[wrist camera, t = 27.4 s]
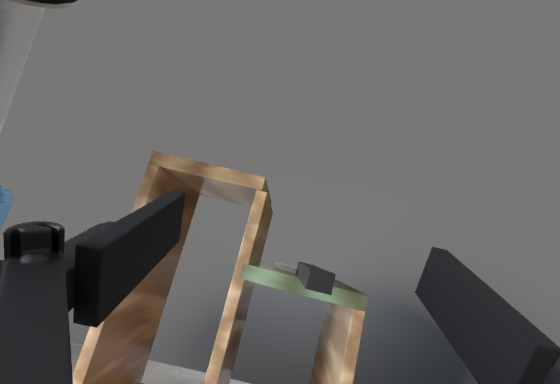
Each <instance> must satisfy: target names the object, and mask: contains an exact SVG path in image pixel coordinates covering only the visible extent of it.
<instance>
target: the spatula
mask: <svg viewBox="0 0 560 384" xmlns="http://www.w3.org/2000/svg"><path fill="white" fill-rule="evenodd" d="M274 268H275V269H279V270H283V271H287V272H291V273H295V274H296V275H297V276H298V278H299V279H300V281H301V283H302V284H303V286H304V287H305V289H308V290H312V291H316V292H320V293H324V294H328V295H332V290H333V285H334V280H335V274H334V273H331V272H328V271H326V270H324V269H321V268H318V267H316V266H314V265H310V264H306V263H302V262H299V263H298V266H294V265H289V264H286V263H282V262H278V261H277V262H276V263H275V265H274Z"/></svg>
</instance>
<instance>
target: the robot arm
mask: <svg viewBox="0 0 560 384" xmlns="http://www.w3.org/2000/svg"><path fill="white" fill-rule="evenodd" d="M79 1H80V0H0V133H1V130H2V127H3V125H4V122H5V119H6V116H7V113H8V110H9V107H10V105H11V101H12V99H13V96H14V93H15V90H16V87H17V85H18V82H19V79H20V76H21V73H22V70H23V68H24V65H25V62H26V59H27V56H28V54H29V51H30V48H31V45H32V42H33V39H34V37H35V34H36V30H37V28H38V25H39V22H40V19H41V17H42V14H43V11H44V9H58V8H66V7H71V6H73V5H75V4H77V3H78V2H79ZM12 201H13V195H12V193H11V191H9V190H8V189H5V188H2V187H1V186H0V229H1V227H2V225H3V223H4V221H5V219H6V217H7V215H8V212H9V209H10V207H11V204H12ZM184 201H185V193H182V192H177V191H172V190H171V191H169V192H167V193H165V194H164V195H162V196H160V197H158V198H157V199H155V200H153V201H151V202H150V203H148V204H146V205H144V206H143V207H141V208H139V209H137V210H136V211H134V212H132V213H130V214H129V215H127V216H125V217H123V218H122V219H120V220H118V221H116V222H106V223H103V224H98V225H96V226H94V227H92V228H90V229H88V230H87V231H84V232H83V233H81V234H79V235H78V236H75V237H73V238H71V239H69V240H68V241H66V242H64V233H65V231H64V228H63V226H62V225H60V224H57V223H53V222H39V221H36V222H27V223H22V224H18V225H14V226H12V227H10V228H8V229H6V231H5V232H4V233H3V235H4V258H5V260H4V261H3V260H0V384H73V376H72V362H71V347H70V332H69V318H68V312H69V311H70V310H71V309H72V308H73V307H74V320H73V322H74V323H77V324H81V325H86V326H91V327H95V328H97V327H98V326H99V325H100V324H101V323H102V322H103V321H104V320H105V319H106V318H107V317H108V316H109V315H110V314H111V313H112V312H113V310H114V309H115V308H116V307H117V306H118V305H119V304H120V303H121V302H122V301H123V300H124V299H125V298H126V297H127V296H128V295H129V294H130V293H131V292H132V290H133V289H134V288H135V287H136V286H137V285H138V284H139V283H140V282H141V281H142V280H143V279H144V278H145V277H146V276H147V275H148V274H149V273H150V272H151V271H152V269H153V268H154V267H155V266H156V265H157V264H158V263H159V262H160V261H161V260H162V259H163V258H164V257H165V256H166V255H167V254H168V253H169V252H170V251H171V249H172V248H173V247H174V246H175V245H176V244H177V243H178V242H179V240H180V232H181V224H182V217H183V209H184ZM415 293H416V294H417V296H418V297H419V299H420V300H421V301H422V303H423V304H424V306H425V307H426V309H427V310H428V312H429V313H430V315H431V316H432V318H433V319H434V320H435V322H436V323H437V325H438V326H439V328H440V329H441V330H442V332H443V333H444V335H445V336H446V338H447V339H448V341H449V342H450V343H451V345H452V346H453V348H454V349H455V351H456V352H457V354H458V355H459V357H460V358H461V359H462V361H463V362H464V364H465V365H466V367H467V368H468V370H469V371H470V372H471V374H472V375H473V377H474V378H475V380H476V381H477V382H478V384H560V347H558V346H557V345H556V344H555V343H554V342H552V341H551V340H550V339H549V338H548V337H547V336H546V335H544V334H543V333H542V332H541V331H540V330H539V329H538V328H536V327H535V326H534V325H533V324H532V323H531V322H529V321H528V320H527V319H526V318H525V317H524V316H522V315H521V314H520V313H519V312H518V311H517V310H515V309H514V308H513V307H512V306H511V305H510V304H509V303H507V302H506V301H505V300H504V299H503V298H502V297H501V296H499V295H498V294H497V293H496V292H495V291H494V290H492V289H491V288H490V287H489V286H488V285H487V284H485V283H484V282H483V281H482V280H481V279H480V278H479V277H477V276H476V275H475V274H474V273H473V272H472V271H470V270H469V269H468V268H467V267H466V266H465V265H463V264H462V263H461V262H460V261H459V260H457V258H455V257H454V256H453V255H452V254H451V253H450V252H448V251H447V250H444V249H440V248H435V247H432V249H431V252H430V255H429V257H428V260H427V262H426V265H425V267H424V270H423V273H422V275H421V278H420V281H419V283H418V286H417V289H416V291H415Z"/></svg>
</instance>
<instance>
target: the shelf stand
mask: <svg viewBox="0 0 560 384" xmlns="http://www.w3.org/2000/svg"><path fill="white" fill-rule="evenodd" d="M171 190H172V191H177V192H182V193H185V201H184V209H183V217H182V224H181V232H180V240H179V242H178V243H177V244H176V245H175V246H174V247H173V248H172V249H171V251H170V252H169V253H168V254H167V255H166V256H165V257H164V258H163V259H162V260H161V261H160V262H159V263H158V264H157V265H156V266H155V267H154V268H153V269H152V271H151V272H150V273H149V274H148V275H147V276H146V277H145V278H144V279H143V280H142V281H141V282H140V283H139V284H138V285H137V286H136V287H135V288H134V289H133V290H132V292H131V293H130V294H129V295H128V296H127V297H126V298H125V299H124V300H123V301H122V302H121V303H120V304H119V305H118V306H117V307H116V308H115V309H114V310H113V312H112V313H111V314H110V315H109V316H108V317H107V318H106V319H105V320H104V321H103V322H102V323H101V324H100V325H99V326H98V327H97V328H95V327H91V326H90V328H89V331H88V334H87V337H86V339H85V343H84V345H83V348H82V351H81V353H80V356H79V359H78V362H77V364H76V367H75V370H74V373H73V384H144V383H141V380H142V377H143V374H144V370H145V367H146V364H147V361H148V358H149V354H150V351H151V348H152V345H153V341H154V338H155V335H156V332H157V329H158V325H159V322H160V319H161V316H162V313H163V309H164V306H165V303H166V300H167V297H168V294H169V290H170V287H171V284H172V281H173V277H174V274H175V271H176V268H177V264H178V262H179V258H180V255H181V252H182V249H183V246H184V243H185V239H186V236H187V233H188V229H189V227H190V223H191V220H192V217H193V214H194V210H195V207H196V204H197V201H198V198H199V195H203V196H207V197H212V198H216V199H220V200H224V201H228V202H232V203H236V204H240V205H245V206H249V207H252V208H251V211H250V215H249V219H248V222H247V226H246V230H245V233H244V237H243V241H242V244H241V248H240V252H239V255H238V259H237V263H236V266H235V270H234V274H233V278H232V281H231V285H230V289H229V293H228V296H227V300H226V304H225V307H224V311H223V314H222V318H221V322H220V325H219V329H218V333H217V337H216V340H215V344H214V348H213V351H212V355H211V359H210V362H209V366H208V370H207V373H206V377H205V381H204V384H229V382H230V379H231V375H232V370H233V367H234V363H235V359H236V355H237V351H238V347H239V343H240V339H241V335H242V331H243V327H244V323H245V320H246V316H247V312H248V307H249V304H250V300H251V296H252V292H253V288H254V284H255V283H258V284H261V285H265V286H269V287H273V288H277V289H281V290H284V291H288V292H292V293H296V294H300V295H303V296H307V297H311V298H315V299H319V300H322V301H326V305H325V310H324V315H323V320H322V325H321V330H320V334H319V340H318V344H317V349H316V355H315V359H314V364H313V369H312V374H311V379H310V384H353V380H354V374H355V368H356V363H357V357H358V351H359V345H360V340H361V334H362V328H363V322H364V317H365V311H366V306H367V299H368V295H366V294H364V293H362V292H360V291H358V290H356V289H353V288H352V287H350V286H348V285H346V284H343V283H341V282H339V281H337V280H334V285H333V290H332V295H328V294H324V293H320V292H316V291H312V290H308V289H305V287H304V286H303V284H302V283H301V281H300V279H299V278H298V276H297V275H296V274H295V273H291V272H287V271H283V270H279V269H275V268H274V265H275V264H270V263H267V262H263V261H261V257H262V253H263V249H264V245H265V241H266V237H267V233H268V229H269V225H270V221H271V218H272V214H273V213H272V208H271V199H270V195H269V191H268V187H267V183H266V178H265V177H261V176H258V175H253V174H249V173H244V172H241V171H236V170H232V169H228V168H224V167H220V166H215V165H211V164H207V163H202V162H198V161H194V160H190V159H186V158H181V157H177V156H173V155H169V154H164V153H160V152H156V151H153V153H152V155H151V158H150V161H149V164H148V167H147V170H146V172H145V175H144V178H143V181H142V184H141V186H140V189H139V192H138V195H137V198H136V200H135V203H134V206H133V209H132V212H134V211H136V210H137V209H139V208H141V207H143V206H144V205H146V204H148V203H150V202H151V201H153V200H155V199H157V198H158V197H160V196H162V195H164V194H165V193H167V192H169V191H171ZM132 212H131V213H132Z"/></svg>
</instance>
